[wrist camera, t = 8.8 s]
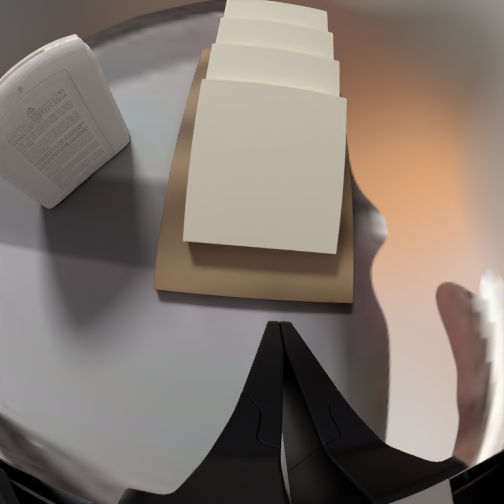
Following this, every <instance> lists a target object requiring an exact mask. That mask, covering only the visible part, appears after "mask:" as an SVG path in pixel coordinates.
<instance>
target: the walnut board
mask: <svg viewBox="0 0 504 504" xmlns="http://www.w3.org/2000/svg"><path fill="white" fill-rule="evenodd" d="M210 53H211V49H203V51H202V54H201V57H200V60H199V63H198V66H197V69H196V72H195V76H194V79H193V82H192V86H191V89H190V93H189V96H188V100H187V103H186V107H185V111H184V115H183V119H182V123H181V127H180V131H179V135H178V139H177V143H176V148H175V152H174V157H173V161H172V166H171V171H170V176H169V181H168V186H167V192H166V197H165V203H164V209H163V215H162V221H161V228H160V235H159V242H158V250H157V258H156V266H155V275H154V285H153V289H156V290H164V291H173V292H183V293H193V294H204V295H215V296H227V297H240V298H253V299H269V300H286V301H305V302H330V303H353V276H354V239H353V208H352V190H351V176H350V164H349V154H348V145H347V136H346V147H345V166H344V181H343V194H342V205H341V216H340V225H339V234H338V242H337V250H336V254H330V253H319V252H307V251H296V250H284V249H272V248H261V247H249V246H237V245H225V244H213V243H201V242H189V241H183V231H184V218H185V205H186V194H187V184H188V174H189V165H190V156H191V148H192V140H193V133H194V125H195V119H196V112H197V105H198V99H199V93H200V87H201V81H202V79H206V75H207V69H208V64H209V58H210ZM339 97H341V94H340V96H339Z"/></svg>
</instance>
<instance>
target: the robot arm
mask: <svg viewBox="0 0 504 504" xmlns="http://www.w3.org/2000/svg"><path fill="white" fill-rule="evenodd" d="M282 433H283V440H284V448H285V456H286V463H287V471H288V480H289V488H290V496H291V504H504V449H503V450H501V451H500V452H498V453H497V454H495V455H493V456H492V457H490V458H488V459H486V460H485V461H483V462H481V463H479V464H477V465H475V466H474V467H472V468H470V469H468V470H466V471H464V472H462V471H463V470H465V469H467V468H468V467H469V466H468V464H467V463H466V462H465V461H464V460H462V459H460V458H459V457H457V456H453V457H450V458H448V459H446V460H444V461H441V462H432V461H428V460H425V459H422V458H419V457H416V456H414V455H411V454H408V453H405V452H403V451H400V450H398V449H395V448H393V447H391V446H389V445H387V444H386V443H384V442H383V441H382V440H381V439H380V438H379V437H378V436H377V435H376V434H375V433H374V432H373V431H372V430H371V429H370V428H369V427H368V426H367V425H366V424H365V422H364V421H363V420H362V419H361V418H360V417H359V416H358V415H357V414H356V412H355V411H354V410H353V409H352V408H351V407H350V405H349V404H348V403H347V401H346V400H345V399H344V397H343V396H342V395H341V393H340V392H339V390H337V388H336V386H335V385H334V383H333V382H332V380H331V379H330V378H329V376H328V375H327V373H326V372H325V371H324V369H323V368H322V366H321V365H320V363H319V362H318V361H317V359H316V358H315V356H314V355H313V353H312V352H311V351H310V349H309V348H308V346H307V345H306V343H305V342H304V341H303V339H302V338H301V336H300V335H299V333H298V332H297V331H296V329H295V328H294V326H293V325H292V323H291V322H285V321H281V322H278V321H268V323H267V325H266V328H265V331H264V334H263V337H262V339H261V342H260V345H259V348H258V350H257V353H256V356H255V359H254V361H253V364H252V367H251V369H250V372H249V375H248V377H247V380H246V383H245V385H244V388H243V391H242V393H241V395H240V398H239V401H238V403H237V405H236V407H235V410H234V412H233V414H232V416H231V417H230V419H229V421H228V423H227V425H226V426H225V428H224V429H223V431H222V433H221V434H220V436H219V437H218V439H217V441H216V442H215V444H214V445H213V447H212V449H211V450H210V452H209V453H208V455H207V456H206V457H205V459H204V460H203V461H202V462H201V464H200V465H199V466H198V467H197V468H196V469H195V471H193V473H192V474H191V475H190V476H189V477H188V478H187V479H186V480H185V482H184V483H183V484H182V485H181V486H180V487H179V488H178V489H177V490H176V491H174V492H172V493H170V494H165V495H163V494H155V493H150V492H146V491H141V490H136V489H131V488H127V489H126V490H125V491H124V493H123V495H122V497H121V499H120V500H119V503H118V504H290V500H289V498H288V495H287V493H286V490H285V485H284V479H283V474H282V468H281V450H280V449H281V439H282ZM460 472H462V473H461V474H459V475H457V476H455V477H453V478H451V479H449V478H450V477H452V476H454V475H456V474H458V473H460ZM0 504H96V503H94V502H91V501H88V500H86V499H83V498H81V497H78V496H76V495H73V494H71V493H69V492H66V491H64V490H62V489H60V488H58V487H56V486H53V485H51V484H49V483H47V482H45V481H43V480H41V479H39V478H37V477H35V476H33V475H32V474H30V473H28V472H26V471H24V470H22V469H20V468H18V467H16V466H14V465H12V464H10V463H8V462H6V461H5V460H3V459H1V458H0Z"/></svg>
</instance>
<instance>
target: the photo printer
mask: <svg viewBox="0 0 504 504" xmlns="http://www.w3.org/2000/svg"><path fill="white" fill-rule="evenodd" d="M128 143H129V131H128V128H127V126H126V124H125V122H124V120H123V117H122V115H121V113H120V111H119V109H118V107H117V104H116V102H115V100H114V98H113V96H112V93H111V91H110V89H109V86H108V84H107V82H106V79H105V77H104V75H103V73H102V70H101V68H100V65H99V63H98V61H97V59H96V56H95V55H94V54H93V52H92V51H91V49H90V48H89V46H88V45H87V44H85V43H83V41H82V40H81V38H78V37H77V35H76V34H75V35H71V36H67V37H64V38H61V39H58V40H56V41H54V42H52V43H50V44H47V45H45V46H43V47H42V48H40V49H38V50H36V51H35V52H33V53H31V54H30V55H28V56H27V57H26V58H24V59H23V60H21V61H20V62H19V63H18V64H16V65H15V66H14V67H13V68H11V69H10V70H9V71H8V72H7V73H6V74H5V75H4V76H3V77H2V78H1V79H0V176H1V177H2V178H3V179H5V180H6V181H8V182H9V183H10V184H12V185H13V186H15V187H16V188H18V189H19V190H21V191H22V192H23V193H25V194H26V195H28V196H29V197H31V198H32V199H34V200H35V201H37V202H38V203H40V204H41V205H43V206H44V207H46V208H48V209H50V208H53V207H54V206H55V205H57V204H58V203H59V202H61V201H62V200H63V199H64V198H65V197H66V196H67V195H69V194H70V193H71V192H72V191H73V190H74V189H75V188H76V187H78V186H79V185H80V184H81V183H82V182H83V181H85V180H86V179H87V178H88V177H89V176H90V175H91V174H93V173H94V172H95V171H96V170H97V169H99V168H100V167H101V166H102V165H103V164H105V163H106V162H107V161H109V160H110V159H111V158H112V157H113V156H115V155H116V154H117V153H118V152H120V151H121V150H122V149H123V148H124V147H125V146H126V145H127V144H128Z"/></svg>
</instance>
